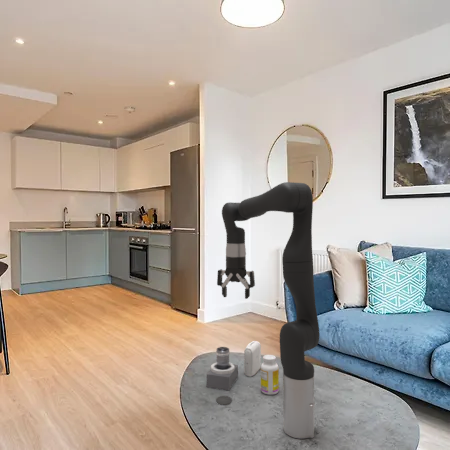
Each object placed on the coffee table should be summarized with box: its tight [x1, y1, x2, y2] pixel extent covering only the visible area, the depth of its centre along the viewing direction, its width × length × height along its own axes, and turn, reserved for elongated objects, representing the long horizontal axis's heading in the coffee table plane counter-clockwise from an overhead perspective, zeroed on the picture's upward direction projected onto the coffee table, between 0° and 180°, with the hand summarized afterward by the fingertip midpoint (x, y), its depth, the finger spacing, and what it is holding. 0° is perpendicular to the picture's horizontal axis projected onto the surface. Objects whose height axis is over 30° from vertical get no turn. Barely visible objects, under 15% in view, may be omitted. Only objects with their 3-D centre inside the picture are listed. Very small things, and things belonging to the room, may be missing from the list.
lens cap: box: [215, 395, 233, 406], centre depth 128 cm, size 6×6×1 cm
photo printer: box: [243, 340, 262, 377], centre depth 153 cm, size 10×4×12 cm, turn 152°
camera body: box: [206, 361, 239, 391], centre depth 143 cm, size 9×12×6 cm
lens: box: [215, 346, 230, 370], centre depth 143 cm, size 5×5×8 cm
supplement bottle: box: [260, 354, 280, 396], centre depth 135 cm, size 7×7×13 cm
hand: (235, 297), depth 139 cm, fingers open, 8 cm apart
